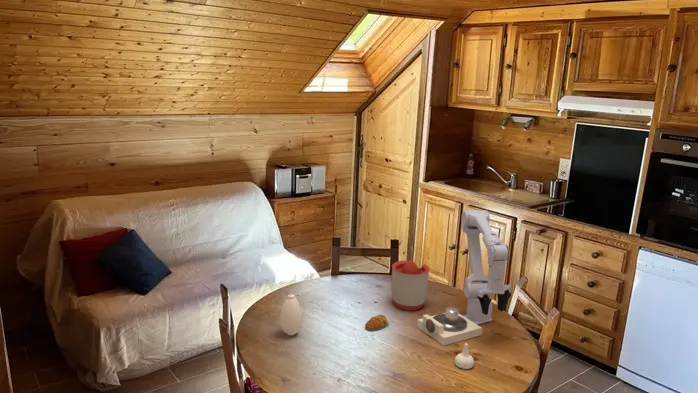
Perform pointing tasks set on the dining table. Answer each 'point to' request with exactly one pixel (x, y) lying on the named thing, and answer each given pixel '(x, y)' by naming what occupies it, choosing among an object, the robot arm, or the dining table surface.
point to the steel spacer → (451, 316)
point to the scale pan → (459, 327)
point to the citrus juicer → (409, 284)
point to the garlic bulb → (464, 359)
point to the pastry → (377, 323)
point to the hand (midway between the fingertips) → (492, 311)
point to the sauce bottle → (291, 315)
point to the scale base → (448, 337)
